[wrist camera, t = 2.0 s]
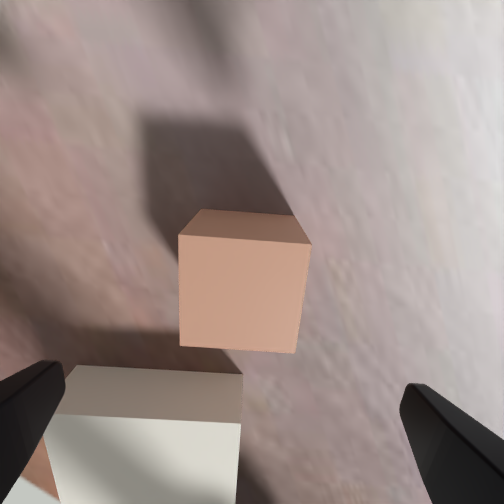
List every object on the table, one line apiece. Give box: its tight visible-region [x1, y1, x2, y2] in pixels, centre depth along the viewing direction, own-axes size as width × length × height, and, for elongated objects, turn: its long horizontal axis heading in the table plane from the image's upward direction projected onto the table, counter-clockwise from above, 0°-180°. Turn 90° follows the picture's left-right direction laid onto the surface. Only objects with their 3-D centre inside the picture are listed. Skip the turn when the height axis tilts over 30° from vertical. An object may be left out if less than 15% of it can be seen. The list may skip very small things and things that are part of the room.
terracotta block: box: [178, 209, 312, 353], centre depth 14 cm, size 5×5×5 cm
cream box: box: [43, 365, 243, 504], centre depth 19 cm, size 11×11×4 cm
